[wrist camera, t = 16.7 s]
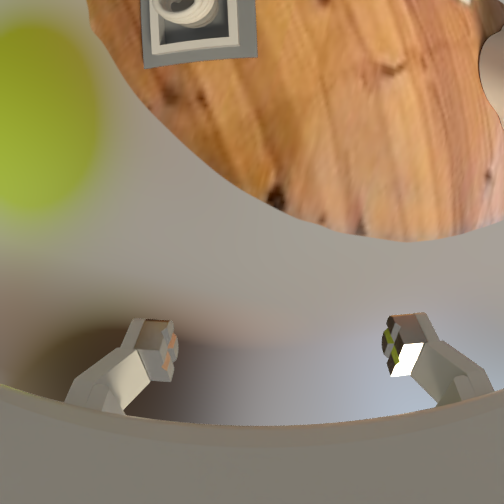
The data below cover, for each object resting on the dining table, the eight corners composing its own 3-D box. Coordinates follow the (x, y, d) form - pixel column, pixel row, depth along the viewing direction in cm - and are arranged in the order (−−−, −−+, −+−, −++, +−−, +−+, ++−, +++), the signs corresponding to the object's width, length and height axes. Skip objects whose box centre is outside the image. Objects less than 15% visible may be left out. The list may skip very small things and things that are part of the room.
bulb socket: (253, -33, 27) (252, -43, 24) (257, 57, 34) (257, 55, 31) (144, -18, 28) (133, -25, 25) (148, 68, 35) (137, 69, 31)
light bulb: (171, 27, 31) (135, 12, 21) (187, -12, 28) (157, -40, 18) (214, 38, 32) (194, 23, 21) (231, -2, 29) (218, -30, 19)
